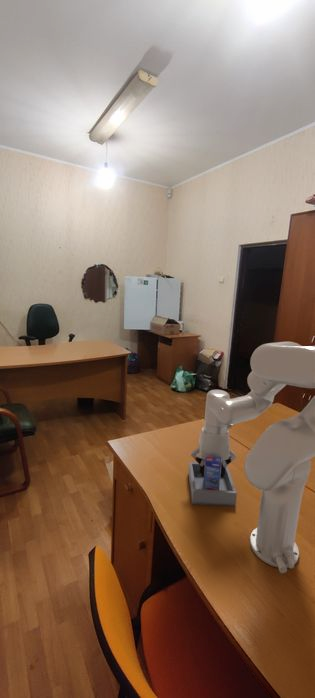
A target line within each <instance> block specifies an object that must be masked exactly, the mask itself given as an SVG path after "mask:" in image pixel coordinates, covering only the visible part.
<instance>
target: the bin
mask: <svg viewBox="0 0 315 698" xmlns="http://www.w3.org/2000/svg"><path fill="white" fill-rule="evenodd" d="M204 466H205V463H204ZM199 468H200V464H199V463H198V462H197V461H196V462H194V461H189V463H188V473H187V474H188V481H189V482H188V483H189V489H190V497H191V505H192V506H193V505H195V506H196V505H197V506H212V507H213V506H214V507H217V506H218V507H235V508H236V504H237V496H238V494H237V493H238V492H237V490H236V486H235V485H234V480H233V478H232V475H231V472H230V469H229V465H227V467H225V474H223V478H221V476H220V486H219V490H203V484H204V477H202V475H201V473H200V472H199Z"/></svg>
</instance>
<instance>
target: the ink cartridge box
mask: <svg viewBox="0 0 315 698" xmlns="http://www.w3.org/2000/svg"><path fill="white" fill-rule="evenodd" d="M221 462H222V461H221V458H219V457H214V458H213V457H206V459H205V469H204V484H203V490H219V486H220V474H221Z"/></svg>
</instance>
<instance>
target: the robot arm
mask: <svg viewBox="0 0 315 698" xmlns="http://www.w3.org/2000/svg"><path fill="white" fill-rule="evenodd" d="M249 363H250V364H249V365H250V368H251V371H250V373H249V374H248V376H247V379H246V380H247V385H248V387H249V389H250V390H251V391H250V392H248V393H247V394H246V395H242V396H238V397H233V398H231V396H230V393H228V392H227V391H225V390H222V389H211V390H209V391H208V392H207V393H206V398H205V410H204V411H205V413H204V425H203V427H202V428H201V430H200V434H199V439H198V444H197V445H198V446H197V447H196V448H195V449H194V450H192V451H191V452H190V456H191V458H193V460H195V461H196V462H198V463H199V464H200V468H199V472H200V473H201V475H202V477H204V469H205V466H204V463H205V459H206V457H213V458H214V457H219V458H221V474H220V476H221V478H223V474H225V467H227V466H229V464H231V462H233V461H234V460H236V459H237V455H236V454H235V453H234V452H233V450H232V449H231V447H230V446H231V445H230V443H231V442H230V433H229V429H232V428H233V425H236V424H240V423H244V422H246V421H252V420H255V419H256V418H258V417H259V416H261V415H262V414H264V412H265V411H267V410H268V409H269V408H270V407H271V405H272V404H273V403H274V400H275V396H276V395H277V394H278V393H279V392H280V391H281V390H282V389H284V387H286V386H287V385H288V386H293V387H298V388H306V389H315V345H309V346H306V345H305V346H304V345H301V344H299V343H297V342H293V341H279V342H278V341H277V342H269V343H263V344H261V345H259V346H258V347H257V348H255V350H254V351H253V353H252V355H251V357H250V361H249ZM198 454H199V455H198ZM313 458H315V395H314V396H313V397H312V398H311V399H310V400H309V402H308V403H307V405H306V406H304V408H303V409H302V411H300V412H299V413H298V414H296V415H293V416H290V417H288V418H284V419H282V420H278V421H276V422H274V423H272V424H271V425H269V426H268V427H267V428H266V429H265V430H264V431H263V432H262V434H261V435H260V436H259V437H258V439H257V441H256V442H255V443H254V445H253V446H252V447H251V449H250V450H249V451H248V453H247V454H246V457H245V459H244V474H245V476H246V479H247V480H248V482H249V484H250V485H251V486H252V487H254V488H255V489H257V490H259V491H261V496H260V505H259V511H258V521H257V527H256V528H254V529H253V530H252V531H251V532H250V535H249V544H250V548H251V549H252V551H253V553H254V554H255V556H257V558H259V559H260V560H261V561H263V562H264V563H266V564H268V565H270V566H272V567H275V568H278V571H279V572H280V573H281V574H286V573H287V571H288V568H289V569H294V568H295V565H296V564H297V562H298V561H299V557H300V550H299V547H298V544H297V543H296V542H295V540H296V533H297V528H298V522H299V515H300V510H301V503H302V499H303V494H304V490H305V486H306V483H307V481H308V479H309V476H310V472H311V467H312V460H311V459H313Z"/></svg>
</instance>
